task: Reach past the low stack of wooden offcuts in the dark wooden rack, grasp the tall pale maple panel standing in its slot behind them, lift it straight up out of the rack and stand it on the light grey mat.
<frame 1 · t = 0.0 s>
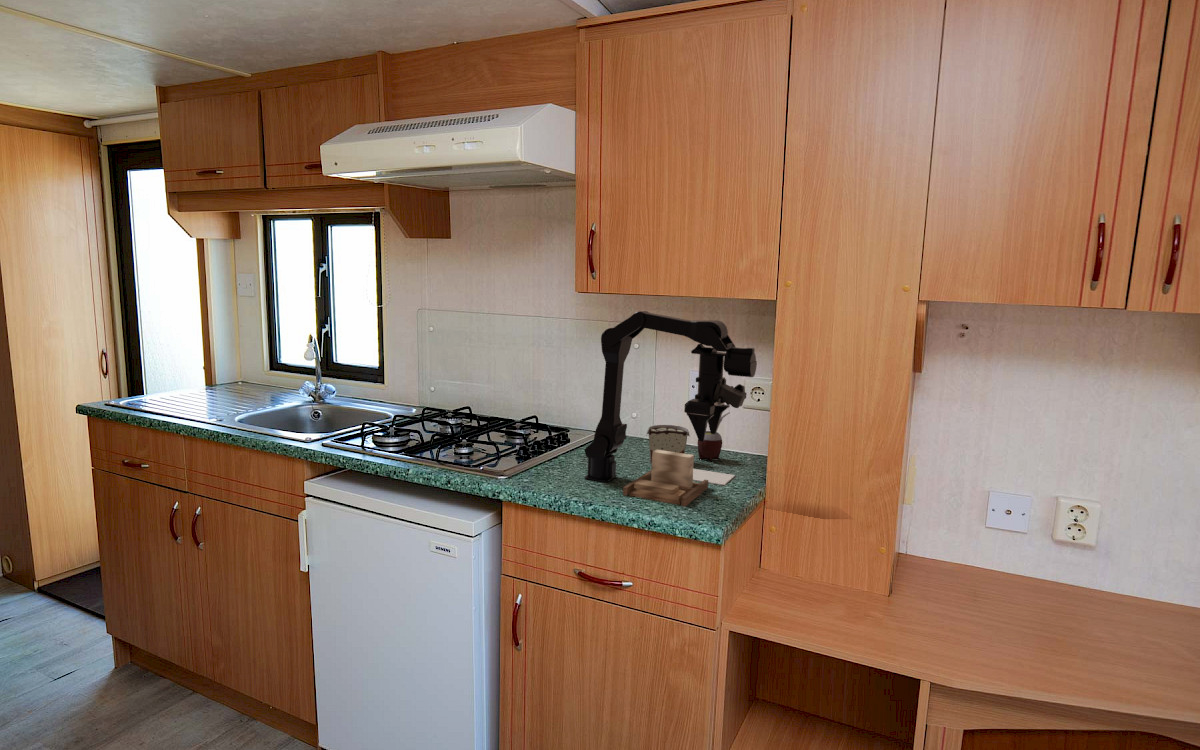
hand: (707, 437, 171), 15 cm above the countertop, tool pointing down, fingers open, 9 cm apart
food container: (665, 461, 206), on the countertop
maple panel: (671, 488, 179), resting in rack
offcut stack: (657, 499, 172), resting in rack
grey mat: (707, 477, 190), on the countertop
rack: (665, 491, 176), on the countertop
mate gourd: (710, 460, 208), on the countertop
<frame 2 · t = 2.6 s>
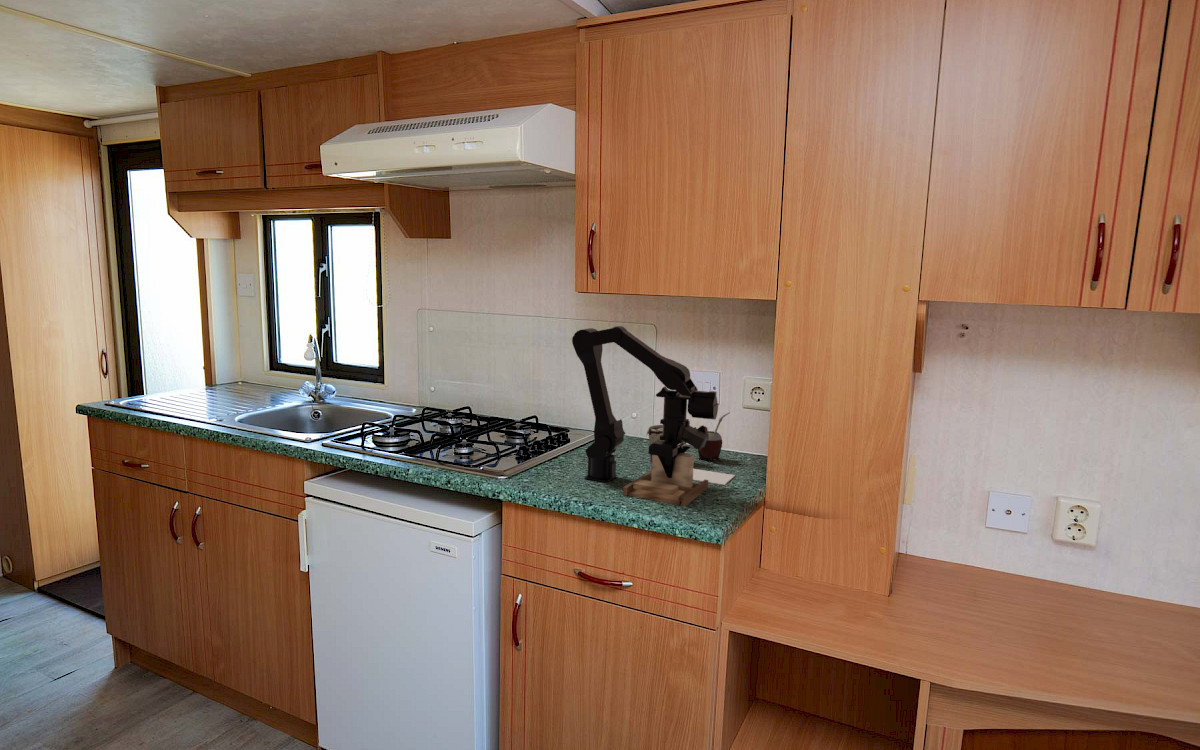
hand: (672, 476, 179), 3 cm above the countertop, tool pointing down, fingers closed on maple panel, 3 cm apart
maple panel: (671, 487, 179), resting in rack, touching gripper
everything else where it was.
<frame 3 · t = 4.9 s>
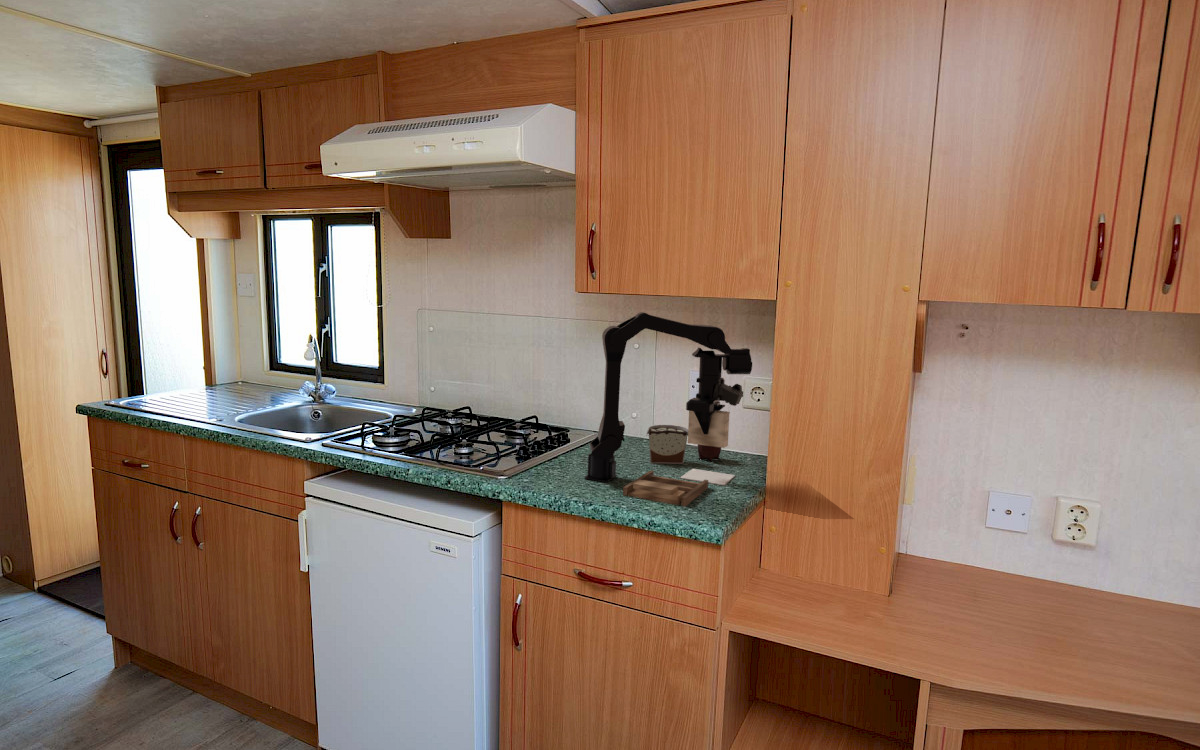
hand: (708, 433, 187), 12 cm above the countertop, tool pointing down, fingers closed on maple panel, 3 cm apart
maple panel: (707, 444, 187), point 9 cm above the countertop, touching gripper
everything else where it was.
when the fingers open (4 cm above the countertop, at t = 7.1 s): maple panel stays where it is, resting on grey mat.
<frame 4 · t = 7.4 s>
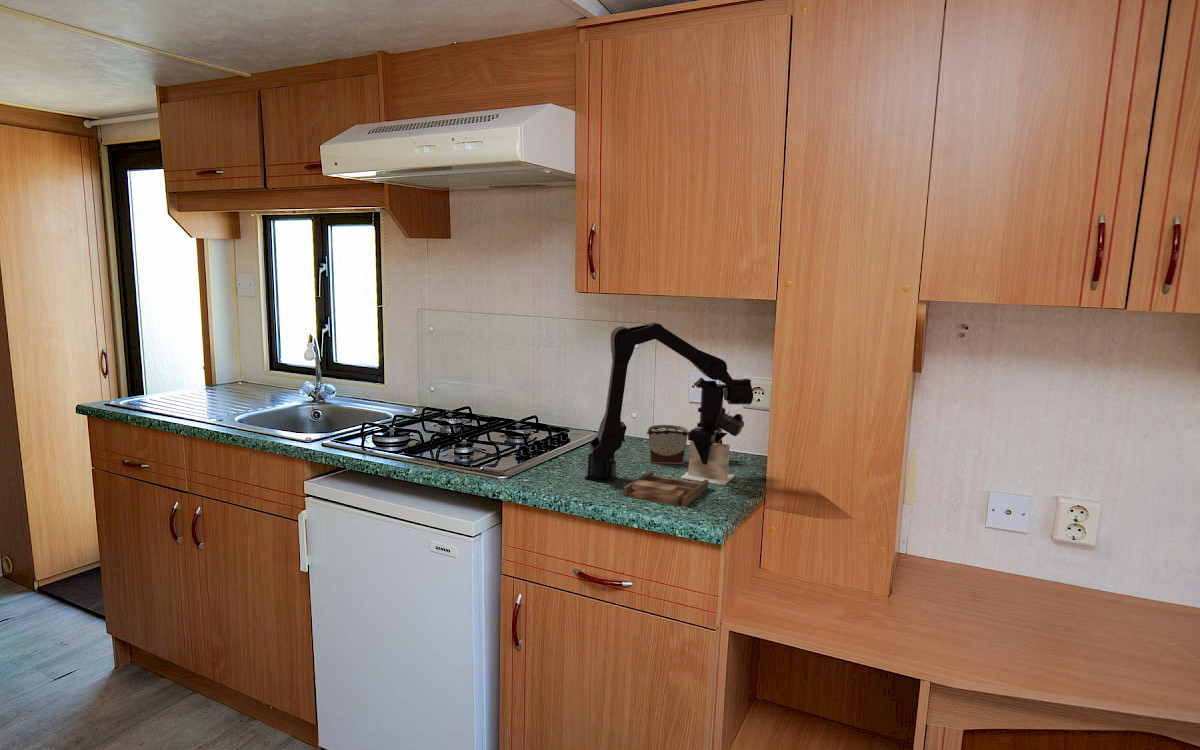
hand: (708, 461, 189), 4 cm above the countertop, tool pointing down, fingers open, 6 cm apart
maple panel: (707, 476, 190), resting on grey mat
everything else where it was.
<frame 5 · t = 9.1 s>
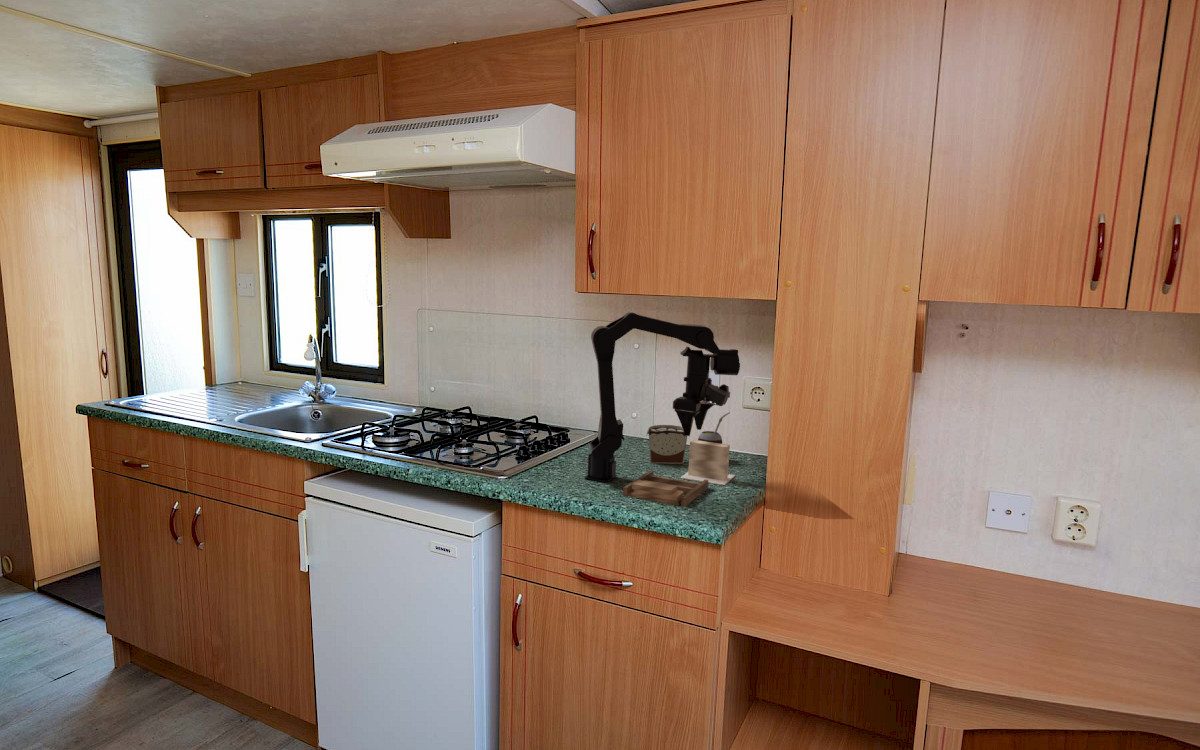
hand: (693, 432, 186), 12 cm above the countertop, tool pointing down, fingers open, 9 cm apart
nothing on the countertop moved.
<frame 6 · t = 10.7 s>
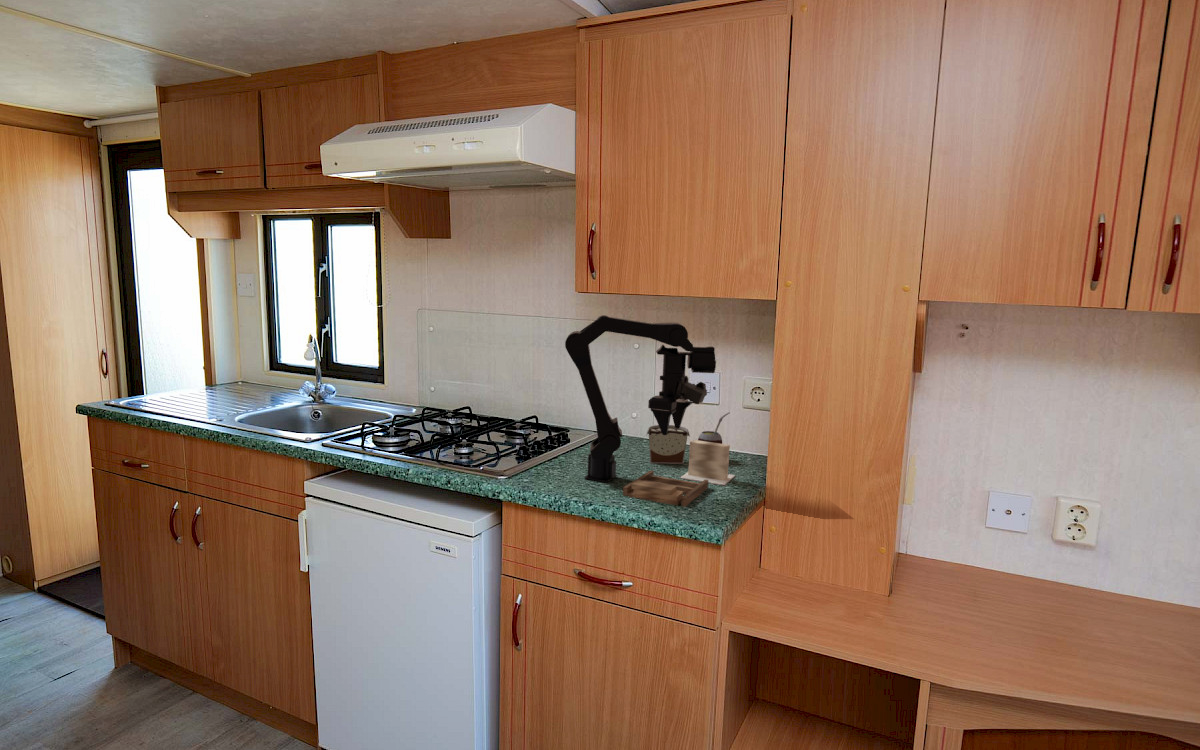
hand: (671, 431, 184), 13 cm above the countertop, tool pointing down, fingers open, 9 cm apart
nothing on the countertop moved.
at the end: maple panel inside the target area (0.0 cm from its centre), resting on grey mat; maple panel tilted 0°; offcut stack moved 0.9 cm from its start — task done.
